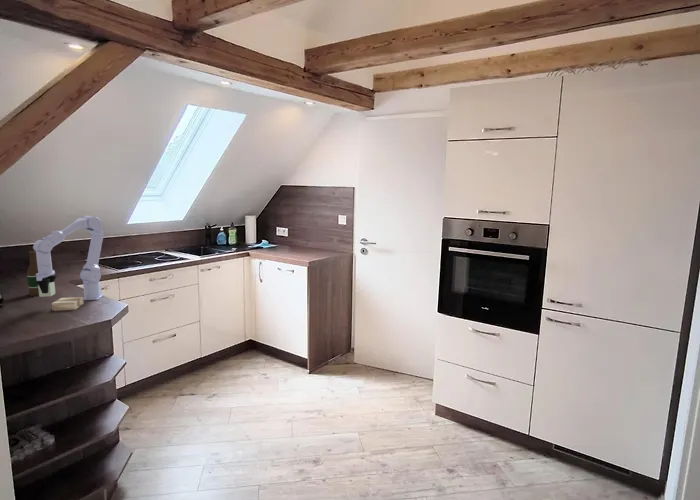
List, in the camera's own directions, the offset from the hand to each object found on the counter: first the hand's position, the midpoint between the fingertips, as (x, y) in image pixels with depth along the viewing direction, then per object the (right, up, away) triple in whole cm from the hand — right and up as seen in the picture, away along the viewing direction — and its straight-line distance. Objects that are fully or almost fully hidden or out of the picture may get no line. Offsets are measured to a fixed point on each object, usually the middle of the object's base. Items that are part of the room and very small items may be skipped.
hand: (47, 291), depth 214 cm
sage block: (0, -2, 0) cm, 2 cm away
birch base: (+8, -8, +3) cm, 12 cm away
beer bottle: (-23, -4, +25) cm, 35 cm away
